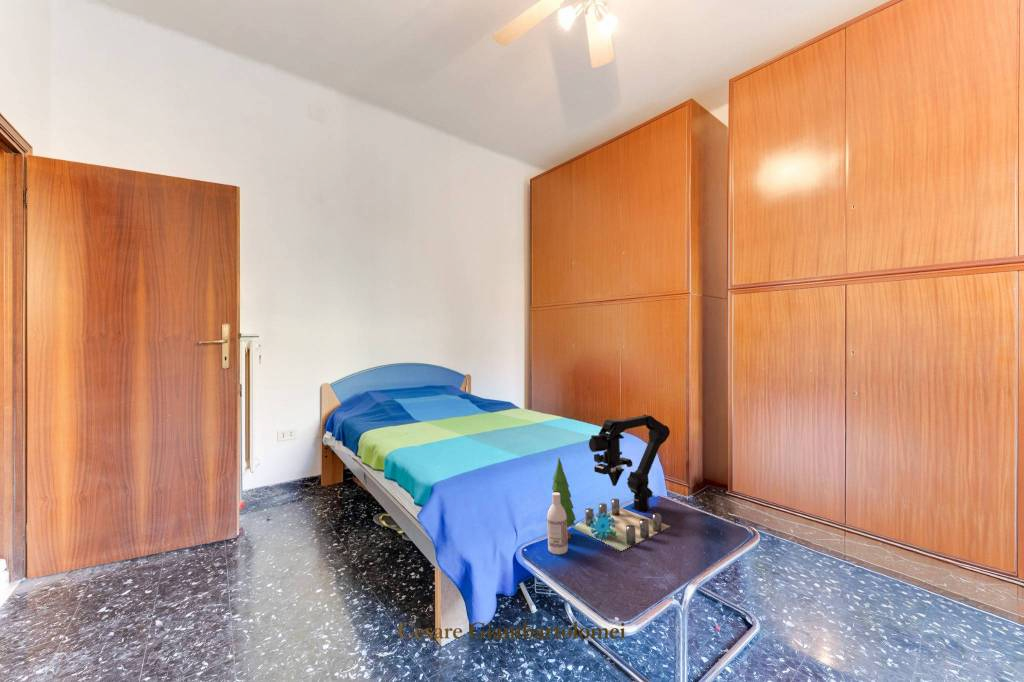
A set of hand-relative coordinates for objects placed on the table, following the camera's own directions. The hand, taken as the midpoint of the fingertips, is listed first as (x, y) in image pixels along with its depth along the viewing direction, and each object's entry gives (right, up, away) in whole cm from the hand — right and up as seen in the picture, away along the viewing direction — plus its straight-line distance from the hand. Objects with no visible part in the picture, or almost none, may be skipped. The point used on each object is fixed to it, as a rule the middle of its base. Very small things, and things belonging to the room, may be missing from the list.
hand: (614, 485), depth 170 cm
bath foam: (-28, -12, -30) cm, 42 cm away
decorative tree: (-24, -13, -19) cm, 33 cm away
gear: (-9, -12, -21) cm, 26 cm away
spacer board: (-1, -12, -14) cm, 18 cm away
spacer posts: (0, -12, -14) cm, 19 cm away
